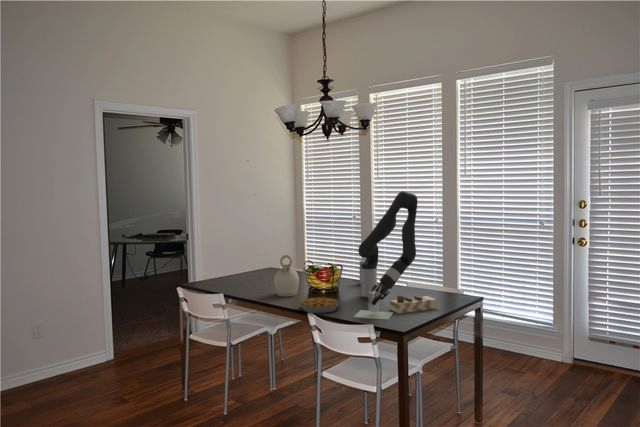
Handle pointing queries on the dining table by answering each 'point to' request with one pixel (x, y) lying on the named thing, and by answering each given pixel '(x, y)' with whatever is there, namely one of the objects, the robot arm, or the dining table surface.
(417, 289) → the dining table surface
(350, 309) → the dining table surface
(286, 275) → the jug
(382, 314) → the mat
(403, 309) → the beige notched block
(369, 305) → the lever cap
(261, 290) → the dining table surface
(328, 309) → the pie
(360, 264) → the skincare box
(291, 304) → the dining table surface
